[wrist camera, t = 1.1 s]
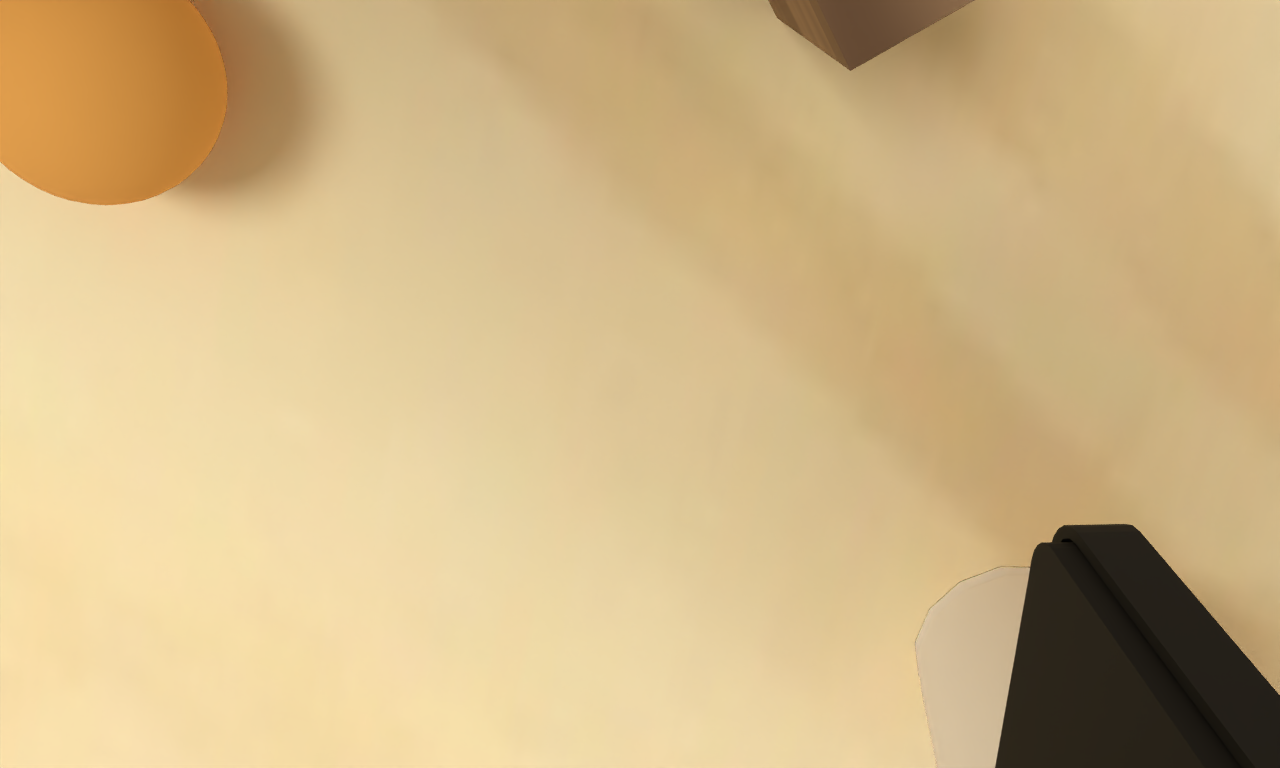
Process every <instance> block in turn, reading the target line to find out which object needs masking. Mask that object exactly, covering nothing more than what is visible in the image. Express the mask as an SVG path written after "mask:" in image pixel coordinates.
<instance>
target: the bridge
mask: <svg viewBox="0 0 1280 768" xmlns="http://www.w3.org/2000/svg"><path fill="white" fill-rule="evenodd" d="M972 1H974V0H769V2H770V4H771V6H772V8H773V10H774V12H775V14H776V16H777V18H778V19H780V20H781V21H782V22H784V23H785V24H787V25H788V26H789V27H791V28H792V29H793V30H795V31H796V32H798V33H799V34H800V35H802V36H803V37H805V38H806V39H807V40H809V41H810V42H811V43H813V44H814V45H816V46H817V47H818V48H820V49H821V50H823V51H824V52H825V53H827V54H828V55H829V56H831V57H832V58H834V59H835V60H836V61H838V62H839V63H841V64H842V65H843V66H845V67H846V68H847V69H849V70H850V71H851V70H853V69H854V68H856V67H858V66H860V65H861V64H863V63H865V62H867V61H868V60H870V59H872V58H874V57H876V56H877V55H879V54H881V53H883V52H884V51H886V50H888V49H890V48H891V47H893V46H895V45H897V44H898V43H900V42H902V41H904V40H905V39H907V38H909V37H911V36H912V35H914V34H916V33H918V32H919V31H921V30H923V29H925V28H926V27H928V26H930V25H932V24H934V23H935V22H937V21H939V20H941V19H942V18H944V17H946V16H948V15H949V14H951V13H953V12H955V11H956V10H958V9H960V8H962V7H963V6H965V5H967V4H969V3H970V2H972Z"/></svg>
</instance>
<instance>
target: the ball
mask: <svg viewBox="0 0 1280 768" xmlns="http://www.w3.org/2000/svg"><path fill="white" fill-rule="evenodd" d="M227 94H228V91H227V77H226V72H225V67H224V62H223V59H222V56H221V53H220V50H219V47H218V44H217V42H216V40H215V38H214V36H213V34H212V32H211V30H210V28H209V27H208V25H207V23H206V22H205V20H204V19H203V17H202V16H201V14H200V13H199V12H198V11H197V9H196V8H195V7H194V6H193V4H192V3H191V2H190V1H189V0H0V162H1V163H2V164H4V165H5V166H6V167H7V168H8V169H9V170H10V171H12V172H13V173H15V174H16V175H17V176H19V177H20V178H22V179H23V180H25V181H26V182H28V183H30V184H31V185H33V186H35V187H37V188H39V189H40V190H43V191H45V192H47V193H50V194H52V195H54V196H57V197H61V198H64V199H67V200H71V201H77V202H82V203H88V204H97V205H116V204H126V203H132V202H137V201H142V200H145V199H148V198H151V197H154V196H157V195H159V194H161V193H163V192H165V191H167V190H169V189H171V188H173V187H175V186H177V185H178V184H179V183H181V182H182V181H183V180H185V179H186V178H188V177H189V176H190V175H191V174H192V173H193V172H194V171H195V170H196V169H197V168H198V167H199V166H200V165H201V164H202V163H203V161H204V160H205V159H206V157H207V156H208V154H209V153H210V152H211V150H212V148H213V146H214V144H215V142H216V141H217V139H218V136H219V133H220V130H221V128H222V125H223V122H224V118H225V113H226V108H227Z"/></svg>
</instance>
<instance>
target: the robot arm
mask: <svg viewBox="0 0 1280 768" xmlns="http://www.w3.org/2000/svg"><path fill="white" fill-rule="evenodd" d="M995 768H1280V695H1279V694H1278V693H1277V692H1276V691H1275V689H1274V688H1273V687H1272V686H1271V685H1270V684H1269V682H1268V681H1267V680H1266V679H1265V678H1264V677H1263V675H1262V674H1261V673H1260V672H1259V671H1258V669H1257V668H1256V667H1255V666H1254V665H1253V664H1252V662H1251V661H1250V660H1249V659H1248V658H1247V657H1246V655H1245V654H1244V653H1243V652H1242V651H1241V650H1240V648H1239V647H1238V646H1237V645H1236V644H1235V643H1234V641H1233V640H1232V639H1231V638H1230V637H1229V635H1228V634H1227V633H1226V632H1225V631H1224V630H1223V628H1222V627H1221V626H1220V625H1219V624H1218V623H1217V621H1216V620H1215V619H1214V618H1213V617H1212V616H1211V614H1210V613H1209V612H1208V611H1207V610H1206V608H1205V607H1204V606H1203V605H1202V604H1201V603H1200V601H1199V600H1198V599H1197V598H1196V597H1195V596H1194V594H1193V593H1192V592H1191V591H1190V590H1189V589H1188V587H1187V586H1186V585H1185V584H1184V583H1183V582H1182V580H1181V579H1180V578H1179V577H1178V576H1177V574H1176V573H1175V572H1174V571H1173V570H1172V569H1171V567H1170V566H1169V565H1168V564H1167V563H1166V562H1165V560H1164V559H1163V558H1162V557H1161V556H1160V555H1159V553H1158V552H1157V551H1156V550H1155V549H1154V547H1153V546H1152V545H1151V544H1150V543H1149V542H1148V540H1147V539H1146V538H1145V537H1144V536H1143V535H1142V533H1141V532H1140V531H1139V530H1137V529H1136V528H1135V527H1134V526H1133V525H1127V524H1107V525H1064V526H1062V527H1061V528H1059V529H1058V530H1057V532H1056V534H1055V535H1054V537H1053V540H1052V542H1050V543H1040V544H1039V545H1037V547H1036V549H1035V550H1034V553H1033V557H1032V561H1031V566H1030V572H1029V578H1028V583H1027V589H1026V595H1025V600H1024V606H1023V612H1022V617H1021V623H1020V629H1019V634H1018V640H1017V646H1016V651H1015V657H1014V663H1013V668H1012V674H1011V680H1010V685H1009V691H1008V697H1007V702H1006V708H1005V714H1004V719H1003V725H1002V731H1001V737H1000V742H999V748H998V754H997V759H996V765H995Z"/></svg>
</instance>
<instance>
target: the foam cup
mask: <svg viewBox="0 0 1280 768" xmlns="http://www.w3.org/2000/svg"><path fill="white" fill-rule="evenodd" d="M1029 572H1030V567H999V568H996V569H993V570H991V571H988V572H985V573H983V574H980V575H977V576H975V577H972V578H969V579H967V580H964V581H961V582H959V583H958V584H957V585H956V586H955V587H954V588H953V589H952V590H950V591H949V592H948V593H947V594H946V595H945V596H944V597H943V598H941V599H940V600H939V601H938V602H937V603H936V604H935V605H934V606H933V607H931V608H930V609H929V612H928V614H927V616H926V618H925V621H924V623H923V625H922V628H921V630H920V632H919V634H918V637H917V639H916V641H915V647H916V656H917V666H918V675H919V677H920V686H921V692H922V697H923V702H924V707H925V712H926V716H927V721H928V726H929V731H930V736H931V741H932V746H933V751H934V756H935V761H936V766H937V768H995V765H996V759H997V754H998V748H999V742H1000V737H1001V731H1002V725H1003V719H1004V714H1005V708H1006V702H1007V697H1008V691H1009V685H1010V680H1011V674H1012V668H1013V663H1014V657H1015V651H1016V646H1017V640H1018V634H1019V629H1020V623H1021V617H1022V612H1023V606H1024V600H1025V595H1026V589H1027V583H1028V578H1029Z"/></svg>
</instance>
